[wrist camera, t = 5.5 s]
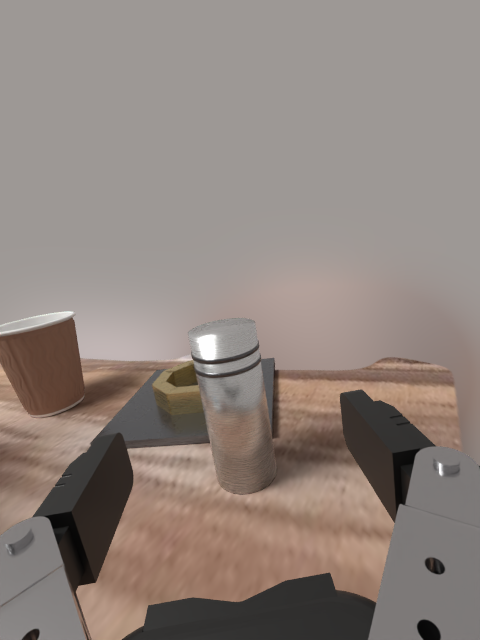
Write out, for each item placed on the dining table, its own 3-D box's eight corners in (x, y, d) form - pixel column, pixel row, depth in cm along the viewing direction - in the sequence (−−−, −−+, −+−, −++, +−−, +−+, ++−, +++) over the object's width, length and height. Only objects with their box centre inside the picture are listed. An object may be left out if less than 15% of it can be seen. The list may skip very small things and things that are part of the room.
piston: (210, 495, 23) (178, 342, 21) (222, 452, 28) (196, 322, 25) (277, 493, 23) (252, 333, 20) (277, 449, 27) (257, 314, 25)
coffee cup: (108, 382, 49) (87, 307, 46) (77, 418, 39) (48, 324, 36) (42, 393, 49) (17, 318, 46) (-6, 431, 39) (-41, 339, 36)
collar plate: (92, 450, 32) (83, 421, 31) (158, 374, 49) (153, 354, 48) (272, 438, 29) (267, 406, 28) (274, 363, 46) (271, 341, 45)
